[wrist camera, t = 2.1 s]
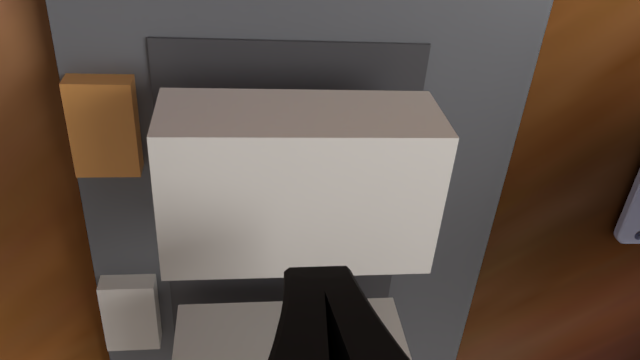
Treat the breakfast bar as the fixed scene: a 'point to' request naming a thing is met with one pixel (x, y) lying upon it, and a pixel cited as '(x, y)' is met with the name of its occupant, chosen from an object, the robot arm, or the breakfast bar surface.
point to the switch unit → (286, 73)
